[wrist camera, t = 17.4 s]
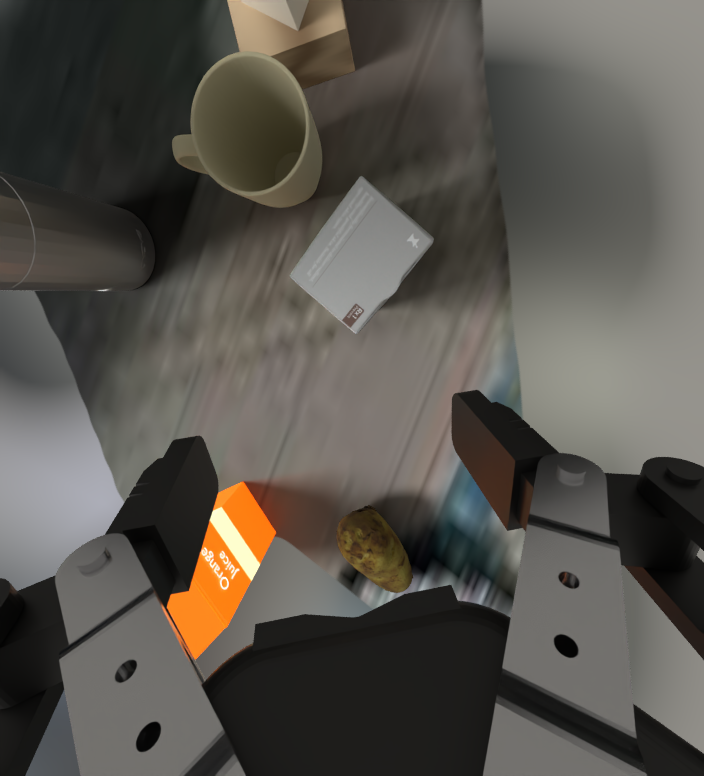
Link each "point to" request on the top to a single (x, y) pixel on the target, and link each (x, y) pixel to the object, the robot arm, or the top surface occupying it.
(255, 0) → the canister
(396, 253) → the skincare box
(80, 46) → the top surface
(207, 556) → the orange juice
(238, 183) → the mug
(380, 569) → the potato
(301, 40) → the oak block
